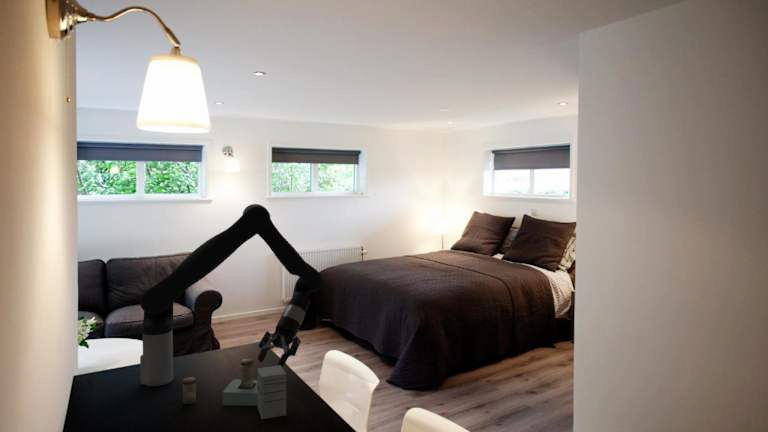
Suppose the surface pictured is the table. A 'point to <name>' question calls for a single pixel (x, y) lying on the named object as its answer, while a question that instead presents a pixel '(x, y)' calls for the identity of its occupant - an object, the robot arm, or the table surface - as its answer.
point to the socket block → (240, 394)
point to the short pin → (189, 390)
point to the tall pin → (247, 374)
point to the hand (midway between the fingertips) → (269, 363)
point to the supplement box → (271, 391)
